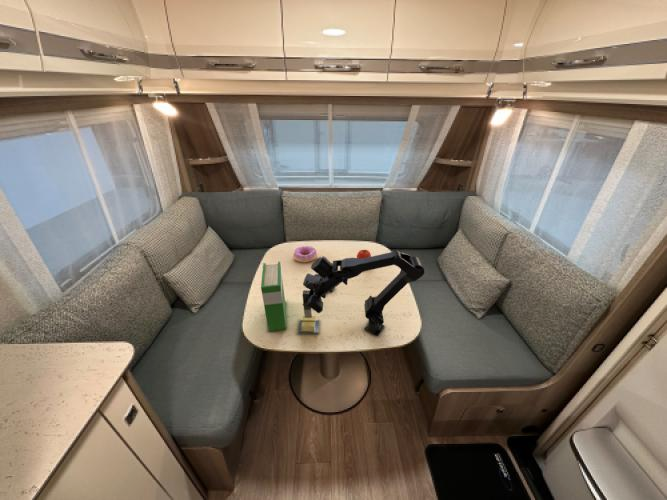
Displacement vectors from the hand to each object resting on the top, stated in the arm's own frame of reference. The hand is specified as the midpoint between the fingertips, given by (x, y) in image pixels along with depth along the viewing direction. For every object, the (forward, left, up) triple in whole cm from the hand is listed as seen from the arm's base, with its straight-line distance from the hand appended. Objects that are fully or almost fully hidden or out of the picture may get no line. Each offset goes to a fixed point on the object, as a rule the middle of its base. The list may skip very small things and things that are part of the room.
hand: (303, 303), depth 111 cm
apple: (+56, +2, -14) cm, 58 cm away
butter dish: (0, -2, -13) cm, 14 cm away
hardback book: (-2, +15, -14) cm, 20 cm away
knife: (+1, -1, -8) cm, 8 cm away
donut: (+44, +37, -14) cm, 60 cm away
